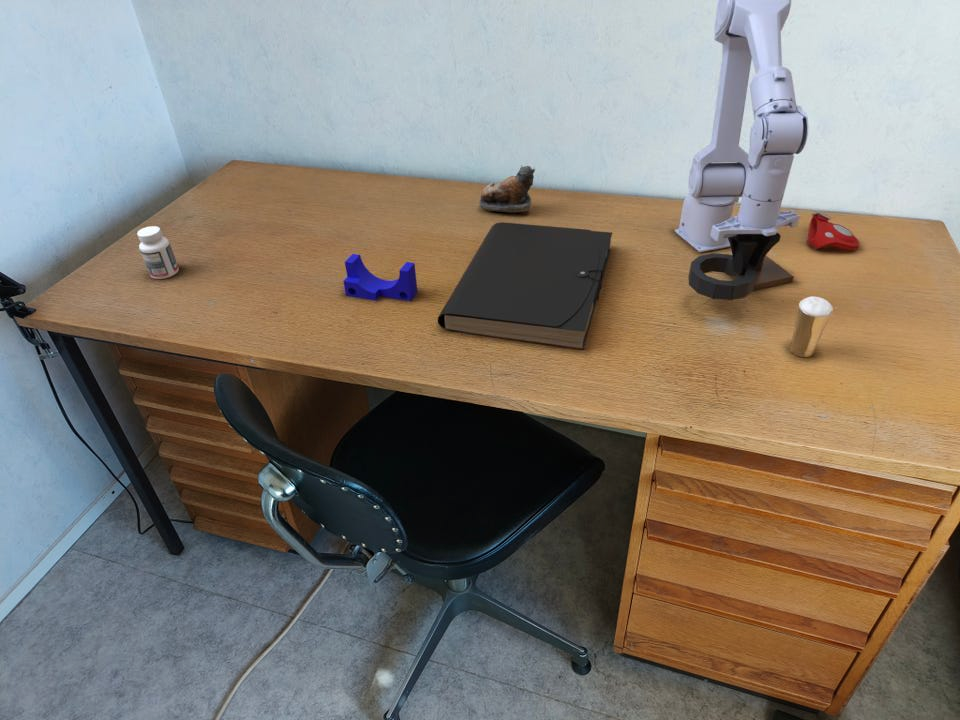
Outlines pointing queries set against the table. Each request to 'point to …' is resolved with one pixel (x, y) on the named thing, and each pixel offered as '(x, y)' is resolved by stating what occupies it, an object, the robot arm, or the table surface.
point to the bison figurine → (509, 193)
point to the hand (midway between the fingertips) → (743, 271)
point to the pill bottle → (157, 253)
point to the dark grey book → (531, 285)
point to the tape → (720, 287)
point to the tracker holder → (830, 233)
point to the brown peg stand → (769, 275)
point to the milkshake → (810, 325)
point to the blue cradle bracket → (378, 282)
